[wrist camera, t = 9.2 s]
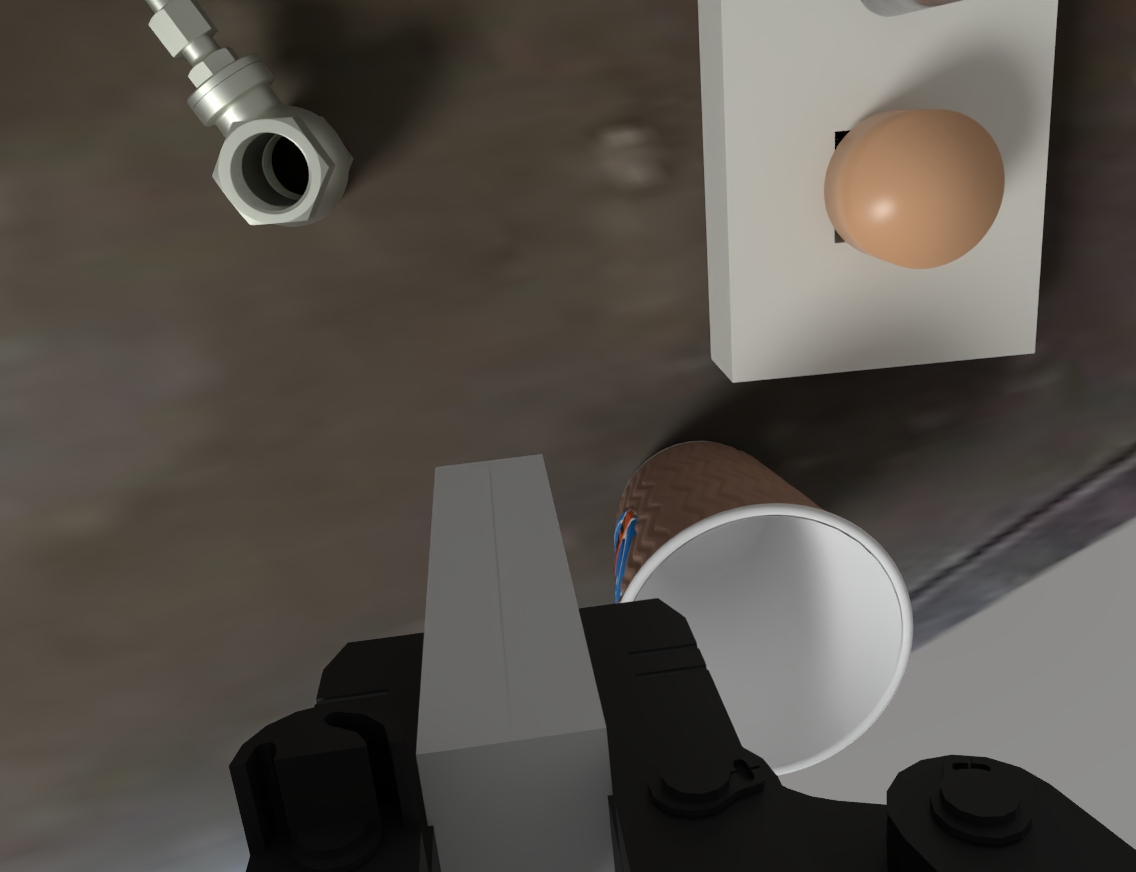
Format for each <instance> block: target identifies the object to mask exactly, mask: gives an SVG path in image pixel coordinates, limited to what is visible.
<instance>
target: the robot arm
mask: <svg viewBox="0 0 1136 872" xmlns="http://www.w3.org/2000/svg"><path fill="white" fill-rule="evenodd" d="M316 700H317V704H315V706H314V708H310V709H306V710H302V711H298V712H295V713H293V714H291V715H289V716H286V717H284V718H282V719H280V720H278V721H276V722H274V723H271V724H269V725H267V726H266V727H264V728H263V729H262V730H260V731H259V732H258V733H257V734H255V735H254V736H253V737H252V738H250V739H249V740H248V741H247V742H245V743H244V744H243V745H242V746H241V748H240V749H239V751H238V753H237V754H236V756H235V757H234V759H233V760H232V762H231V763H230V765H229V769H230V773H231V777H232V781H233V785H234V789H235V794H236V798H237V802H238V806H239V810H240V814H241V819H242V823H243V827H244V831H245V835H246V839H247V844H248V848H249V852H250V859H249V862H248V866H247V869H246V872H1136V850H1135V849H1134V848H1132V847H1131V846H1129V845H1128V844H1127V843H1126V842H1124V841H1123V840H1122V839H1121V838H1119V837H1118V836H1117V835H1115V834H1114V833H1113V832H1111V831H1110V830H1109V829H1108V828H1106V827H1105V826H1104V825H1102V824H1101V823H1100V822H1098V821H1097V820H1096V819H1095V818H1093V817H1092V816H1091V815H1089V814H1088V813H1087V812H1085V811H1084V810H1083V809H1082V808H1080V807H1079V806H1078V805H1076V804H1075V803H1074V802H1072V801H1071V800H1070V799H1069V798H1067V797H1066V796H1065V795H1063V794H1062V793H1061V792H1059V791H1058V790H1057V789H1056V788H1054V787H1053V786H1052V785H1050V784H1049V783H1047V782H1045V781H1043V780H1042V779H1040V778H1038V777H1036V776H1034V775H1033V774H1031V773H1029V772H1028V771H1026V770H1024V769H1022V768H1020V767H1017V766H1014V765H1011V764H1007V763H1004V762H1000V761H997V760H994V759H990V758H987V757H974V756H962V755H948V756H942V757H936V758H931V759H925V760H921V761H919V762H917V763H915V764H914V765H912V766H910V767H908V768H906V769H905V770H903V771H901V772H899V773H898V775H897V776H896V778H895V779H894V781H893V783H892V784H891V786H890V787H889V789H888V791H887V805H882V804H870V803H858V802H846V801H836V800H829V799H824V798H818V797H812V796H809V795H806V794H803V793H800V792H797V791H794V790H791V789H788V788H786V787H784V786H782V785H781V782H780V780H779V778H778V776H777V775H776V774H775V773H774V771H773V770H772V769H771V768H770V766H769V765H768V764H767V763H766V762H765V760H764V759H763V758H761V757H760V756H758V755H756V754H754V753H752V752H751V751H749V750H747V749H745V748H743V747H742V745H741V742H740V740H739V738H738V735H737V733H736V731H735V729H734V726H733V724H732V722H731V720H730V717H729V715H728V713H727V710H726V708H725V706H724V704H723V701H722V699H721V697H720V695H719V692H718V690H717V688H716V685H715V683H714V681H713V679H712V676H711V674H710V672H709V670H707V667H706V663H705V660H704V658H703V656H702V654H701V651H700V649H699V648H697V642H696V640H695V638H694V635H693V633H692V631H691V629H690V626H689V624H688V622H687V620H686V617H684V616H683V615H681V614H680V613H679V612H677V611H676V610H674V609H673V608H671V607H670V606H669V605H667V604H666V603H664V602H663V601H662V600H660V599H659V598H654V599H647V600H639V601H632V602H624V603H617V604H609V605H602V606H595V607H587V608H580V609H578V605H577V601H576V596H575V592H574V588H573V584H572V579H571V575H570V571H569V567H568V562H567V558H566V554H565V550H564V545H563V541H562V537H561V532H560V528H559V524H558V520H557V515H556V511H555V507H554V503H553V498H552V494H551V490H550V486H549V481H548V477H547V473H546V469H545V464H544V460H543V456H542V454H540V455H532V456H524V457H515V458H507V459H499V460H491V461H483V462H475V463H467V464H459V465H450V466H442V467H435V481H434V496H433V511H432V525H431V540H430V555H429V570H428V584H427V599H426V614H425V628H424V633H418V634H410V635H403V636H395V637H388V638H380V639H373V640H365V641H358V642H350V643H347V644H346V645H345V647H344V648H343V649H342V650H341V651H340V652H339V653H338V654H337V655H336V656H335V658H334V659H333V660H332V661H331V662H330V663H329V664H328V665H327V666H326V668H325V669H324V670H323V673H322V677H321V681H320V685H319V690H318V694H317V698H316Z"/></svg>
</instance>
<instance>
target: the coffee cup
mask: <svg viewBox="0 0 1136 872" xmlns="http://www.w3.org/2000/svg"><path fill="white" fill-rule="evenodd" d="M615 526H616V528H615V535H614V546H615V604H617V603H624V602H632V601H639V600H647V599H654V598H659V599H660V600H662V601H663V602H664V603H666V604H667V605H669V606H670V607H671V608H673V609H674V610H676V611H677V612H679V613H680V614H681V615H683V616H684V617H686V620H687V622H688V624H689V626H690V629H691V631H692V633H693V635H694V638H695V640H696V642H697V648H699V649H700V651H701V654H702V656H703V658H704V660H705V663H706V667H707V670H709V672H710V674H711V676H712V679H713V681H714V683H715V685H716V688H717V690H718V692H719V695H720V697H721V699H722V701H723V704H724V706H725V708H726V710H727V713H728V715H729V717H730V720H731V722H732V724H733V726H734V729H735V731H736V733H737V735H738V738H739V740H740V742H741V745H742V747H743V748H745V749H747V750H749V751H751V752H752V753H754V754H756V755H758V756H760V757H761V758H763V759H764V760H765V762H766V763H767V764H768V765H769V766H770V768H771V769H772V770H773V771H774V773H775V774H776V775H782V774H786V773H791V772H794V771H798V770H800V769H803V768H807V767H809V766H811V765H814V764H817V763H819V762H821V761H823V760H825V759H827V758H829V757H830V756H832V755H834V754H836V753H838V752H839V751H841V750H842V749H844V748H845V747H847V746H848V745H849V744H851V743H852V742H854V741H855V740H856V739H857V738H859V737H860V736H861V735H862V734H863V733H864V732H865V731H866V730H867V729H869V727H870V726H871V725H872V724H873V723H874V722H875V721H876V720H877V719H878V718H879V717H880V715H881V714H882V713H883V711H884V710H885V709H886V707H887V706H888V704H889V703H890V701H891V700H892V698H893V697H894V695H895V693H896V691H897V690H898V688H899V686H900V683H901V681H902V679H903V677H904V674H905V671H906V668H907V665H908V662H909V658H910V653H911V648H912V639H913V615H912V607H911V602H910V598H909V594H908V590H907V588H906V585H905V582H904V580H903V578H902V575H901V573H900V571H899V570H898V568H897V566H896V564H895V563H894V561H893V560H892V558H891V557H890V556H889V554H888V553H887V552H886V551H885V550H884V548H883V547H882V546H881V545H880V544H879V543H878V542H877V541H876V540H875V539H874V538H873V537H871V536H870V535H869V534H868V533H866V532H865V531H864V530H863V529H861V528H859V527H858V526H856V525H855V524H853V523H851V522H850V521H848V520H846V519H844V518H842V517H840V516H837V515H835V514H833V513H830V512H827V511H825V510H824V509H822V508H820V507H819V506H817V505H816V504H815V503H814V502H812V500H810V499H809V498H808V497H806V496H805V495H804V494H802V493H801V492H800V491H798V490H797V489H796V488H794V487H793V486H791V485H789V484H788V483H787V482H786V481H784V480H783V479H782V478H781V477H779V476H778V475H777V474H775V473H774V472H773V471H771V470H770V469H769V468H767V467H766V466H764V465H763V464H762V463H760V462H759V461H758V460H757V459H755V458H754V457H752V456H751V455H748V454H747V453H745V452H744V451H742V450H737V449H735V448H734V447H731V446H727V445H724V444H721V443H716V442H710V441H689V442H684V443H680V444H675V445H673V446H670V447H668V448H666V449H663V450H661V451H659V452H658V453H656V454H655V455H653V456H652V457H650V458H649V459H647V460H646V461H645V462H644V463H643V464H642V465H641V466H640V467H639V468H638V469H637V470H636V471H635V473H634V474H633V476H632V477H631V479H630V480H629V481H628V483H627V486H626V488H625V490H624V492H623V495H622V498H621V500H620V506H619V510H618V511H617V521H616V525H615ZM871 553H872V554H873V556H874V557H875V558H876V559H877V560H878V561H879V562H878V561H877V560H876V559H875V558H874V557H873V556H872V555H871ZM880 564H881V565H882V566H881V565H880ZM882 567H883V568H884V570H885V571H884V570H883V568H882ZM885 572H886V573H887V574H886V573H885ZM887 575H888V576H887ZM890 580H891V581H890ZM893 587H894V588H893ZM894 590H895V591H894Z"/></svg>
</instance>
